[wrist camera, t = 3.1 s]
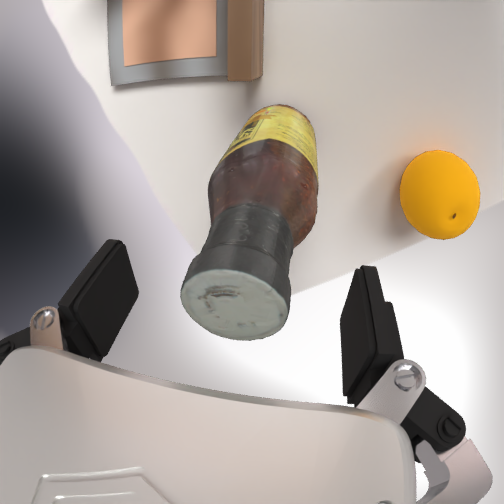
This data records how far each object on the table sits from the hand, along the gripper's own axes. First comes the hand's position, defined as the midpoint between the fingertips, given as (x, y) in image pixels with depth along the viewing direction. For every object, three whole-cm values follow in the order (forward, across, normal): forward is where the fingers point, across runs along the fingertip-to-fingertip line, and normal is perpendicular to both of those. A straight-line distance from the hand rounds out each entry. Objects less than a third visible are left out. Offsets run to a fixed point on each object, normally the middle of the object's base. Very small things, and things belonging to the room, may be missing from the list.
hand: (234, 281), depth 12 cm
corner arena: (+18, +8, -14) cm, 24 cm away
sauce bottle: (+18, 0, -1) cm, 19 cm away
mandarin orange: (+18, -16, +1) cm, 24 cm away
